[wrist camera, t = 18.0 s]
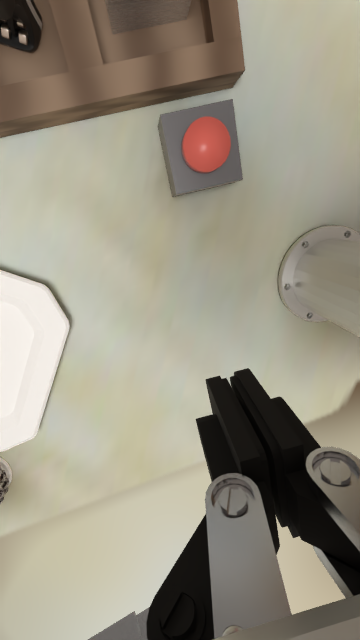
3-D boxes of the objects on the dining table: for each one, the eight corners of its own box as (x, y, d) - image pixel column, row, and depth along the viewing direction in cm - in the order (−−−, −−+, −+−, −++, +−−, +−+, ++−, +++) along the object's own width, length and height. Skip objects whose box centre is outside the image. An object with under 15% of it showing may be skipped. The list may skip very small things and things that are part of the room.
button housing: (221, 112, 32) (232, 99, 28) (231, 183, 34) (242, 179, 30) (157, 126, 31) (160, 114, 27) (172, 196, 34) (176, 194, 30)
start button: (222, 117, 28) (226, 111, 26) (229, 167, 30) (233, 165, 28) (177, 127, 28) (179, 122, 26) (186, 177, 29) (189, 175, 28)
